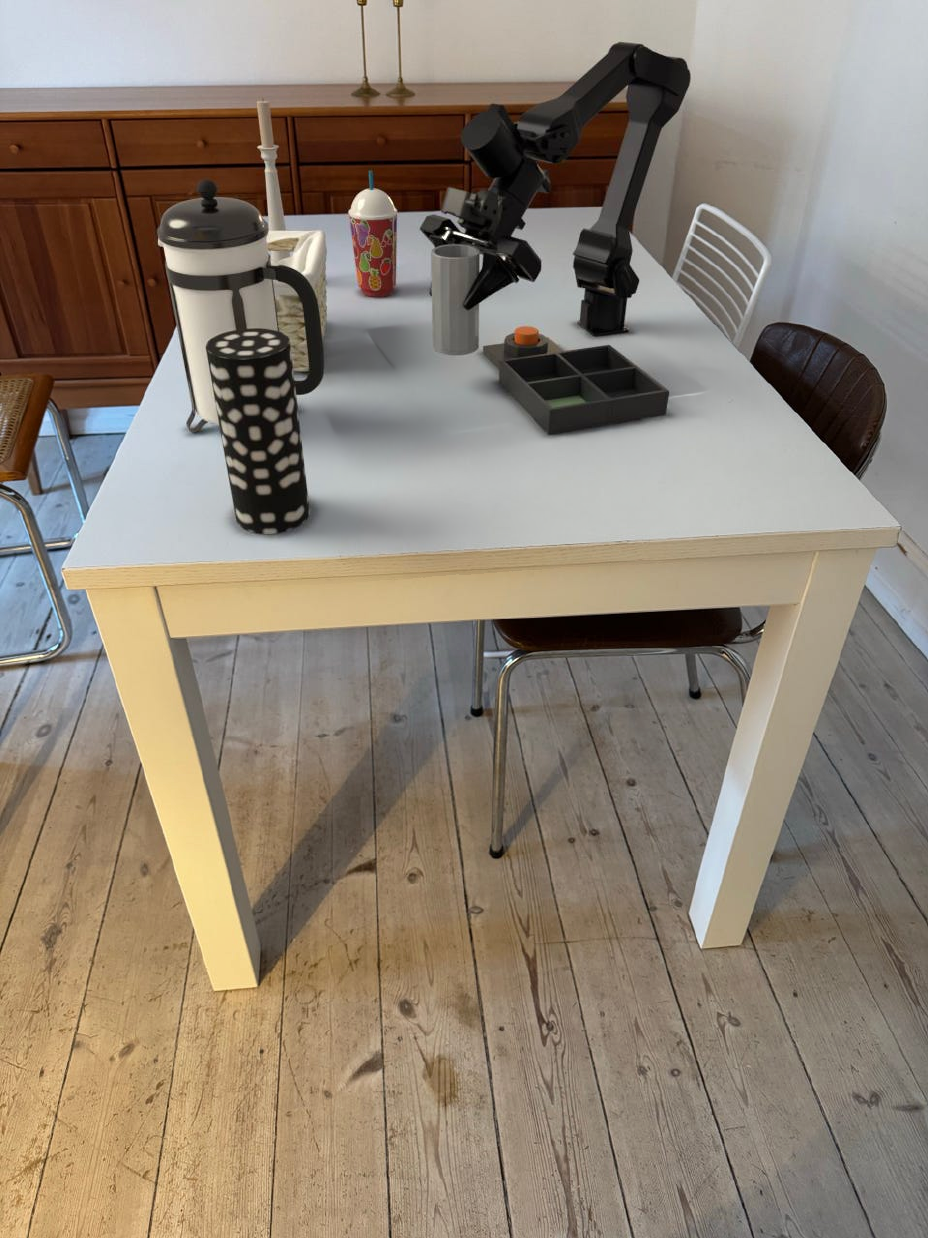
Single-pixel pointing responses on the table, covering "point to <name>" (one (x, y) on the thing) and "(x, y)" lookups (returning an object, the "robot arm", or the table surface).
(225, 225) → the coffee press
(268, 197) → the candlestick
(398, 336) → the table surface
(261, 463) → the spotted tube
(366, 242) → the smoothie
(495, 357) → the block
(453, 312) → the tumbler
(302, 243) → the basket
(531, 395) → the divided tray
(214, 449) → the table surface
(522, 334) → the button
